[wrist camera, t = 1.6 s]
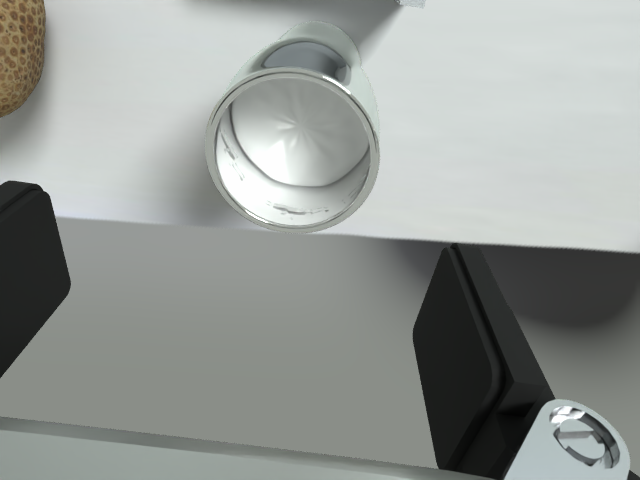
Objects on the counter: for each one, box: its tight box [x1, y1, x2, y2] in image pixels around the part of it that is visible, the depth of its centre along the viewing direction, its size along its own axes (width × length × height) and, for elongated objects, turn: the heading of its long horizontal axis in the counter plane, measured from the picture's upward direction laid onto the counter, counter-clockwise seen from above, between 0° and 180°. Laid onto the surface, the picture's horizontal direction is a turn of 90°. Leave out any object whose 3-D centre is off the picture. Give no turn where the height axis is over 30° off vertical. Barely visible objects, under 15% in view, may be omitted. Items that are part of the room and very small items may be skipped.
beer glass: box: [205, 21, 380, 233], centre depth 22 cm, size 7×7×15 cm
